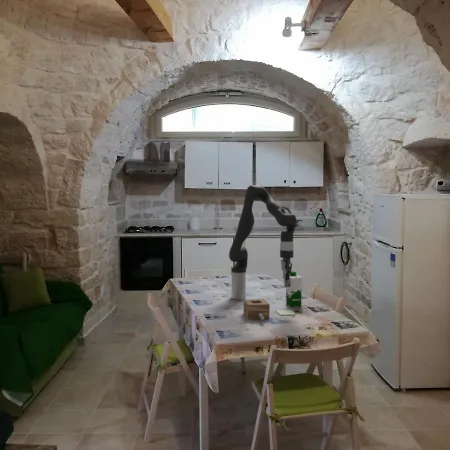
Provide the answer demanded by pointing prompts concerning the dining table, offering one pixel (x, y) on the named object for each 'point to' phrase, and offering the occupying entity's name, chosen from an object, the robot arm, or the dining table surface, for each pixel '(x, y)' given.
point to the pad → (285, 312)
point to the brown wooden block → (256, 309)
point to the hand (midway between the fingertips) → (286, 278)
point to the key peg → (286, 282)
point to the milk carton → (294, 290)
